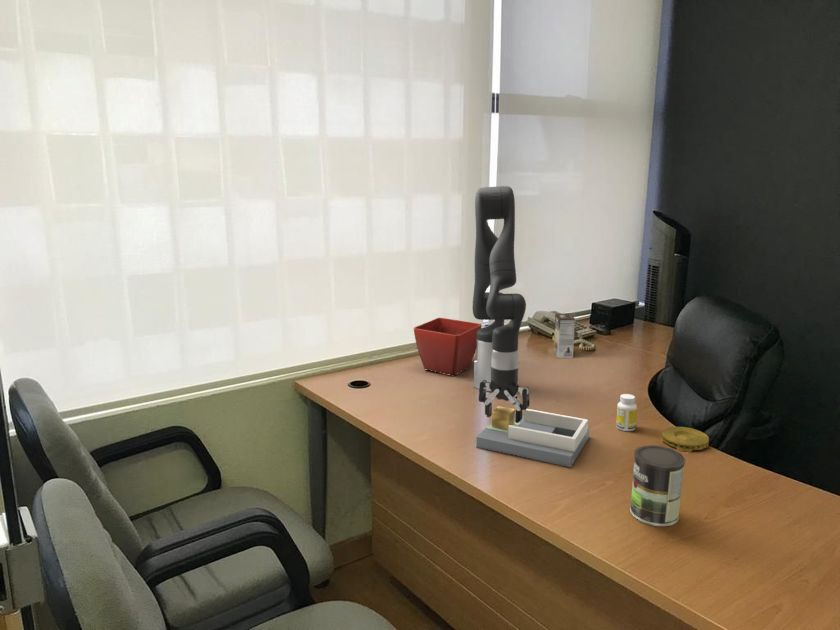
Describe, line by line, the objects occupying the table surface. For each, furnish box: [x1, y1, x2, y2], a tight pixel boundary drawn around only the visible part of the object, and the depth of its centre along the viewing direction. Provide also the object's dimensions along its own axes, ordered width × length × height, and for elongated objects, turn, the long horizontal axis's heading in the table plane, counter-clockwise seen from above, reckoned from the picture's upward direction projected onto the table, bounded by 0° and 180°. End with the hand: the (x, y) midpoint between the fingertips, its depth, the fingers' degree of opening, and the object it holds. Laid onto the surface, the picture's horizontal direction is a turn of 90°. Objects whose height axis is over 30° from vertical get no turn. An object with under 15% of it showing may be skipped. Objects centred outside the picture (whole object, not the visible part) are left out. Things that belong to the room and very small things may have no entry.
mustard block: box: [491, 405, 516, 430], centre depth 178 cm, size 5×5×4 cm
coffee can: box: [629, 444, 686, 528], centre depth 137 cm, size 10×10×14 cm
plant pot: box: [413, 317, 482, 376], centre depth 234 cm, size 19×19×17 cm
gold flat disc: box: [661, 426, 710, 452], centre depth 174 cm, size 12×12×2 cm
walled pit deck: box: [475, 408, 591, 468], centre depth 174 cm, size 26×20×6 cm
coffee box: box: [553, 312, 576, 359], centre depth 249 cm, size 9×6×16 cm
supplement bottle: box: [615, 393, 638, 432], centre depth 182 cm, size 5×5×10 cm
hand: (503, 419), depth 178 cm, fingers open, 8 cm apart
